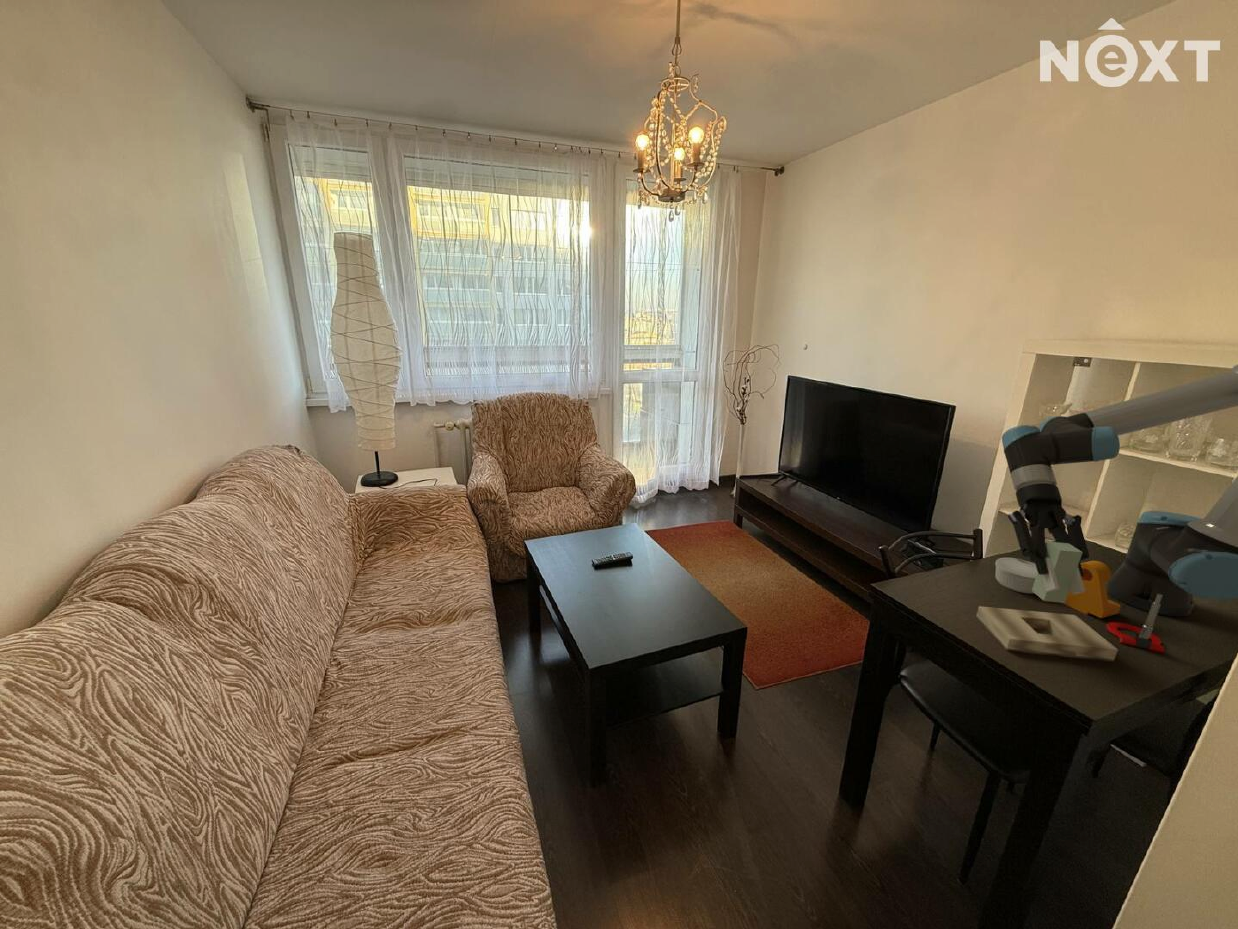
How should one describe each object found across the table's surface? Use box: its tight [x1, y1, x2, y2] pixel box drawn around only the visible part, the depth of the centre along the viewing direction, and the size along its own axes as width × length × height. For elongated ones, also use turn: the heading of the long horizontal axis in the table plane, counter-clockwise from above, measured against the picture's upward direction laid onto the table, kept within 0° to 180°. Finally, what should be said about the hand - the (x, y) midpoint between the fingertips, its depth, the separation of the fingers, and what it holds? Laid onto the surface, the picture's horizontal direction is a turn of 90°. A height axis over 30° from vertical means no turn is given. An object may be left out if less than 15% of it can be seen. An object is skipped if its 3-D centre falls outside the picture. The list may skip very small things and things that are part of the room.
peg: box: [1032, 541, 1083, 604], centre depth 102 cm, size 4×4×12 cm
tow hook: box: [1106, 594, 1165, 654], centre depth 105 cm, size 8×13×9 cm
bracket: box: [1062, 560, 1122, 619], centre depth 117 cm, size 11×7×12 cm, turn 18°
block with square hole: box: [975, 605, 1119, 663], centre depth 106 cm, size 20×12×3 cm, turn 81°
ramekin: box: [994, 557, 1037, 595], centre depth 127 cm, size 11×11×5 cm
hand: (1065, 591), depth 99 cm, fingers closed on peg, 4 cm apart
